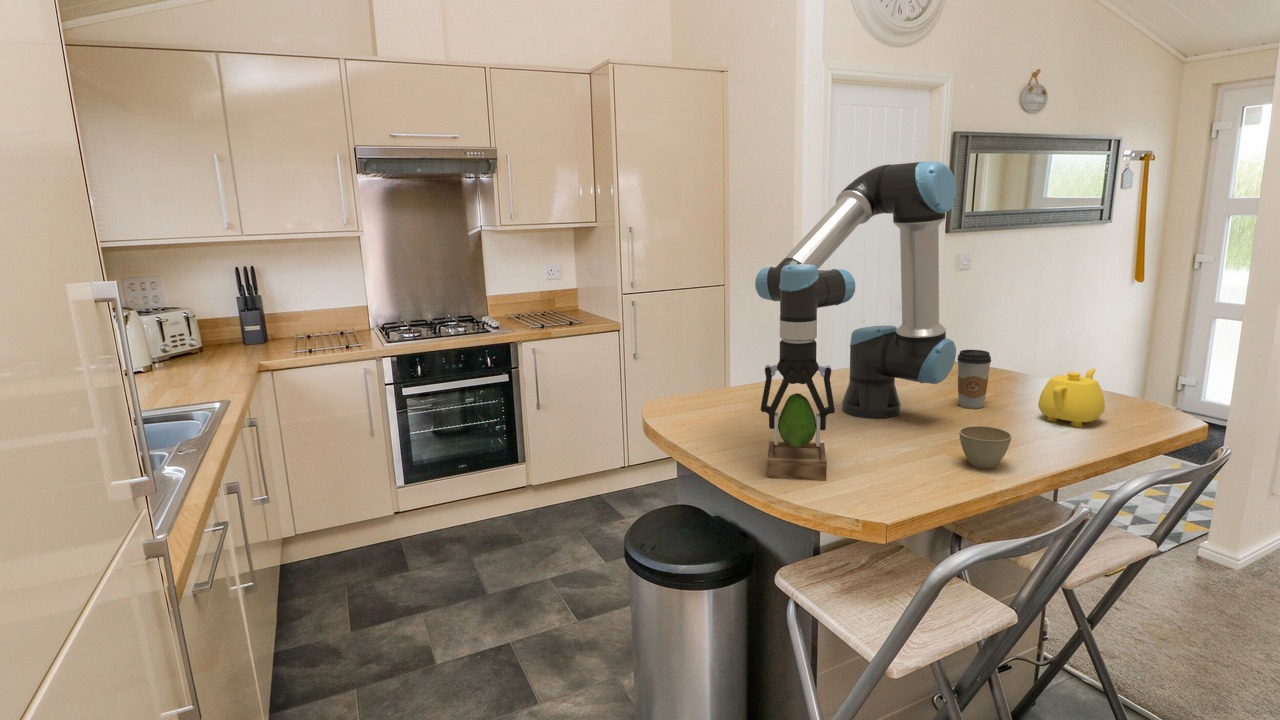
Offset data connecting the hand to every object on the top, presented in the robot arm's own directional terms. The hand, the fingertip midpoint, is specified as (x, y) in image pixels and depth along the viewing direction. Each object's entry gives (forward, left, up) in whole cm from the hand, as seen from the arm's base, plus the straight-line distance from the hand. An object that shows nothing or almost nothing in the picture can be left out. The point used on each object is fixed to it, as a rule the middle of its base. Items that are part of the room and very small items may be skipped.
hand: (796, 443), depth 150 cm
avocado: (0, 0, -1) cm, 1 cm away
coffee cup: (-47, -53, -6) cm, 71 cm away
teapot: (-68, -42, -6) cm, 80 cm away
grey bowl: (-39, -7, -6) cm, 40 cm away
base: (0, 0, -6) cm, 6 cm away
